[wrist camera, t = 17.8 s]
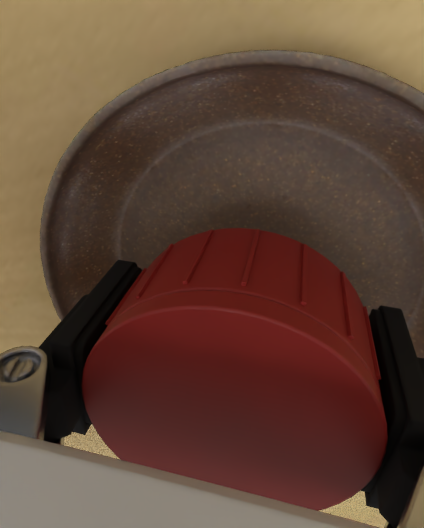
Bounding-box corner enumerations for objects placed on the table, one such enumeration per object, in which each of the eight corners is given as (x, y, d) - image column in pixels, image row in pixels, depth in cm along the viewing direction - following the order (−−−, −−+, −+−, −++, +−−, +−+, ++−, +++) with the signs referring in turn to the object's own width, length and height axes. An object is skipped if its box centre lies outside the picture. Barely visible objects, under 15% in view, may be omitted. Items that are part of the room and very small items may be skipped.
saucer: (508, 390, 15) (543, 455, 13) (174, 417, 20) (156, 466, 18) (469, -68, 9) (521, -102, 7) (8, 148, 14) (-49, 171, 12)
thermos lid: (211, 170, 9) (166, 232, 6) (428, 329, 10) (474, 447, 7) (99, 332, 13) (39, 418, 10) (266, 438, 14) (254, 545, 11)
